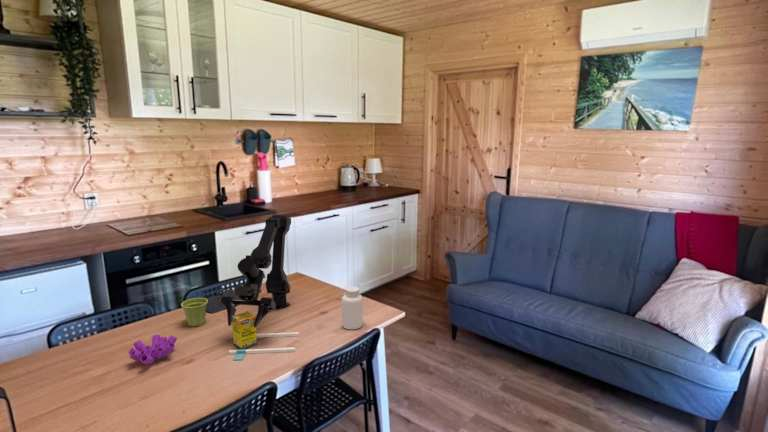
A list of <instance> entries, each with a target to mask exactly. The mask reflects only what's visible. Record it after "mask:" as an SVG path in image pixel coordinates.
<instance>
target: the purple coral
mask: <svg viewBox="0 0 768 432" xmlns="http://www.w3.org/2000/svg"><path fill="white" fill-rule="evenodd" d="M177 339H178V337H177V336H174V335H169V337H167V336H161V335H160V334H154V335H152V339H151V344H148V345H145V343H144V342H143V341H142V340H140V339H138V340H136V341H135V342H133V346H134V347H132V348H130V349H129V350H128V354H129V357H130V358H131V359H132V360H134V361H137V362H141V364H143V365H151V364H152V363H155V361H157V360H159V359H162V358H165V357H166V356H169V354H171V353H172V351H174V349H175V346H176V345H175V343H176V342H177Z"/></svg>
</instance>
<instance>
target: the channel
mask: <svg viewBox="0 0 768 432" xmlns="http://www.w3.org/2000/svg"><path fill="white" fill-rule="evenodd" d="M299 336H300V332H298V331H297V332H295V331H294V332H277V333H276V332H274V333H270V332H269V333H256V337H257V338H258V339H259V338H260V339H261V338H262V339H263V338H283V337H285V338H286V337H287V338H288V337H299ZM296 350H297V349H296V347H277V348H250V349H249V348H246V349H239V348H238V349H229V350H228V355H234V358H233V359H232V360H233V361H244V359H245V356H246V354H268V353H272V354H273V353H291V352H292V353H293V352H296ZM233 361H232V362H233Z"/></svg>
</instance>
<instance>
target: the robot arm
mask: <svg viewBox="0 0 768 432" xmlns="http://www.w3.org/2000/svg"><path fill="white" fill-rule="evenodd" d="M291 225H292V218H291V217H289V214H280V213H279V214H272V216H269V217H267V218H266V220H265V226H264V229H263V232H262V234H261V237H260V240H259V243H258V244H257V246H256V247H255V248H254V249H252V251H251V253H250V255H245V257H244V258H243V259H241V260H240V261H239V262H238V263H237V269H238V271H239V272H240V274H242V276H243V278H245V279H246V280H245V282H244V283H243V284H242V285H243V286H241V285H236V286H235V287H236V290H235V289H234V290H235V295H238V297H239V298H241V299H235V298H234V297H233V296H230V295H223V296H222V297H221V299H220V303H221V304H222V305H223V306H224V307H225V308H226V312H227V313H226V314H227V325H228V326H229V327H230V326H232V316H235V315H236V313H237V308H236V307H238V306H256V307H257V313H256V315H255V318H256V319H255V322H254V327H255V328H256V329H257V326H258V325H259V324H260V323H261V321H262V320H263V319H264V318H265V317H266V316H267V315H268V314H269V313H271V312H273V311H275V310H280V309H283V308H286V307H289V306H291V304H290V303H289V302H287V295H288V294H289V293H291V284H290V283H289V281H288V280H287V279H288V275H287V274H286V272H285V271H284V262H285V249H286V248H285V247H286V245H285V244H286V236H287V234H288V233H289V231H290V229H291V228H290V227H291ZM271 249H272V254H271ZM269 267H271V270H270V271H269V273H267V275H265V272H264V270H262V269H265V270H266V269H268V268H269ZM264 279H266V280H265V290H266V294H271V297H267V296H265V297H263V296H262V297H261V298H260V299H259V296H260V294H262V286H263V281H264ZM258 299H259V300H258ZM237 305H238V306H237Z"/></svg>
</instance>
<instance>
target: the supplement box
mask: <svg viewBox="0 0 768 432" xmlns="http://www.w3.org/2000/svg"><path fill="white" fill-rule="evenodd" d="M255 319H256V315H254V314H253V313H251V312H249V311H248V310H247V311H245V312H242V313H239V314H235V315H234V316H232V323H231V327H232V339H233V345H234V346H235V347H236V348H238V349H246V350H247V349H249V348H251V347H253V346H256V345H258V342H257V337H256V334H257V327H256V328H255V327H254V322H255Z"/></svg>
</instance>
